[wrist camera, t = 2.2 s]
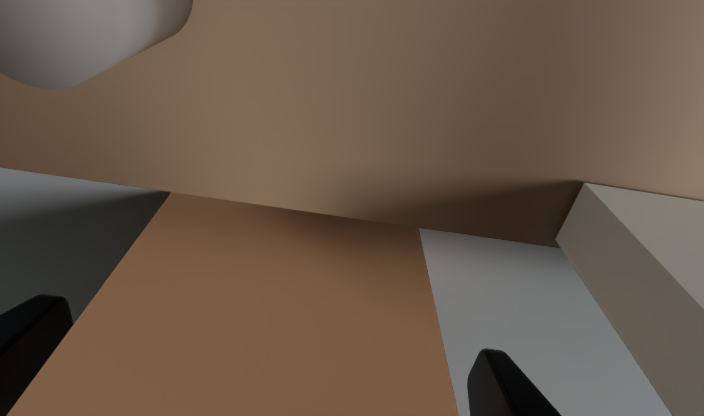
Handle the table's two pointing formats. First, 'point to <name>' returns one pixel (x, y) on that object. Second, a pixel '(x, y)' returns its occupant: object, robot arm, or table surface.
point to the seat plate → (362, 103)
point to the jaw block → (254, 321)
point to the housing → (646, 281)
